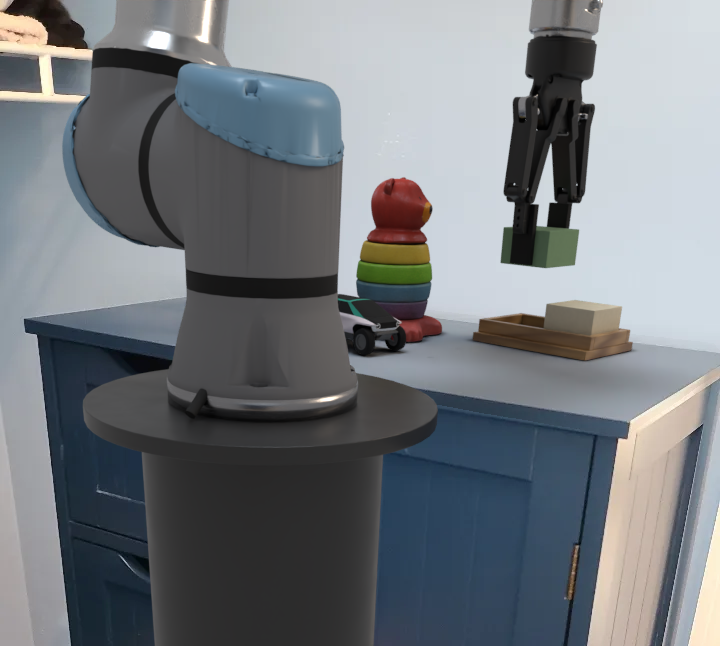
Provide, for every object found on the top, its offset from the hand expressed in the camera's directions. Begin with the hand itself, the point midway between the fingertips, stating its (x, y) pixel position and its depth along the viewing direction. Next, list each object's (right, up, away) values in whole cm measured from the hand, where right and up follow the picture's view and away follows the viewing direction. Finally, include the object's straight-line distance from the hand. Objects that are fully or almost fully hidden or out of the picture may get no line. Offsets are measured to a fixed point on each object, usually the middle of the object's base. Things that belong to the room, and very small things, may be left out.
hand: (537, 262), depth 114 cm
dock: (+2, -9, +2) cm, 10 cm away
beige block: (+5, -9, 0) cm, 11 cm away
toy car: (-22, -11, -4) cm, 25 cm away
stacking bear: (-17, -7, +6) cm, 19 cm away
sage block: (0, 0, 0) cm, 0 cm away
